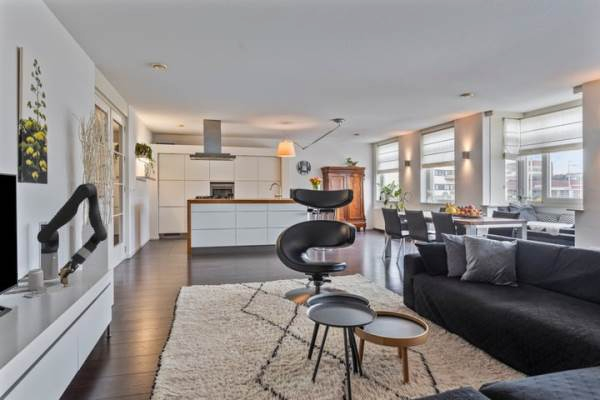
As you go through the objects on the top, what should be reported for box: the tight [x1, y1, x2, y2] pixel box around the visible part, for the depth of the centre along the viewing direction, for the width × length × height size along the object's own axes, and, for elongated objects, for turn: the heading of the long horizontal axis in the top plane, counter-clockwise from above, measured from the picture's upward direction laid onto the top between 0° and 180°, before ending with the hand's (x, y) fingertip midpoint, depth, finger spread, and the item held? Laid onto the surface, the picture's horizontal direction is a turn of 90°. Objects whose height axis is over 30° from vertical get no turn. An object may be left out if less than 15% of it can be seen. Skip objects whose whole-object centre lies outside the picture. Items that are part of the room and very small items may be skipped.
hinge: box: [24, 281, 76, 299], centre depth 208 cm, size 9×23×4 cm, turn 154°
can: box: [27, 268, 45, 292], centre depth 213 cm, size 8×8×12 cm
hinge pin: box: [59, 267, 69, 285], centre depth 224 cm, size 4×4×10 cm
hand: (61, 276), depth 223 cm, fingers open, 7 cm apart
